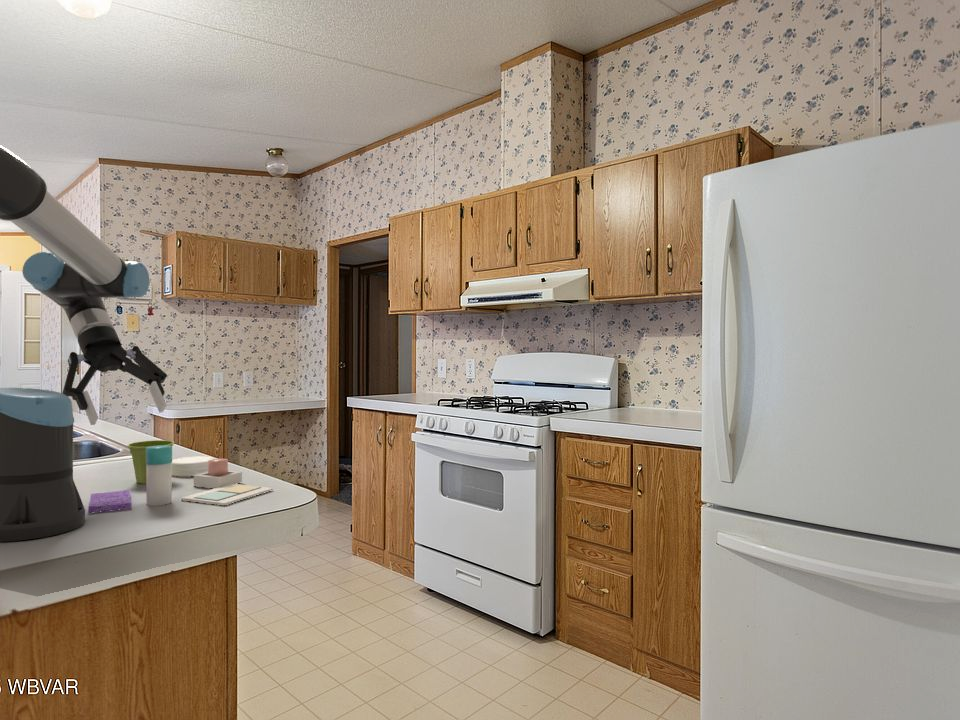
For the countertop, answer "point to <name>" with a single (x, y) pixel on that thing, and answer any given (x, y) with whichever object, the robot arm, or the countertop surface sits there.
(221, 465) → the button
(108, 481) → the countertop surface
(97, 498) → the sponges
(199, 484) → the button housing
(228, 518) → the countertop surface
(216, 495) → the picture card
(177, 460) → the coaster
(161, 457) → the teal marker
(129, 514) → the countertop surface
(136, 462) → the plant pot
